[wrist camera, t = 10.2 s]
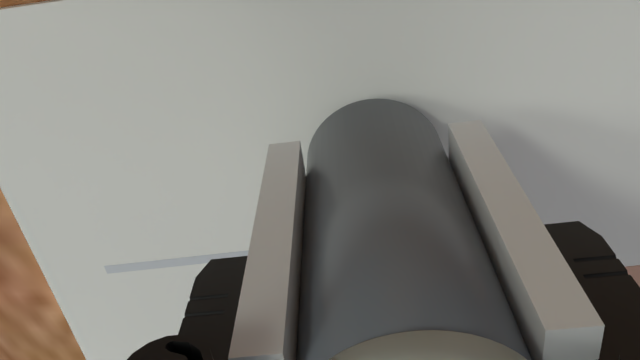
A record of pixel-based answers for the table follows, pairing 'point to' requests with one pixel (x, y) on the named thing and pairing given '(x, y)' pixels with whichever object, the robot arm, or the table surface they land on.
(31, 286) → the table surface
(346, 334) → the marker
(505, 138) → the paper
